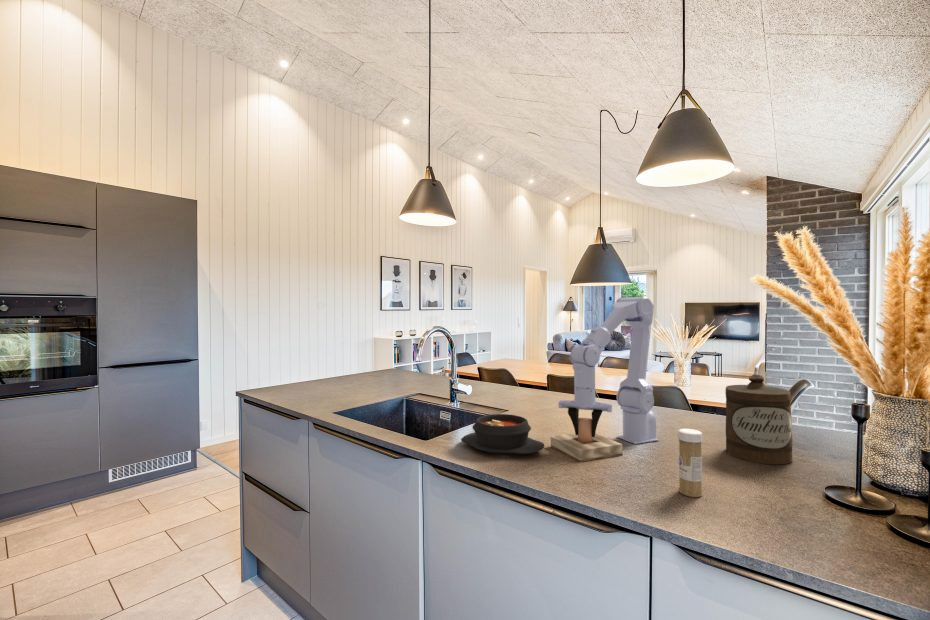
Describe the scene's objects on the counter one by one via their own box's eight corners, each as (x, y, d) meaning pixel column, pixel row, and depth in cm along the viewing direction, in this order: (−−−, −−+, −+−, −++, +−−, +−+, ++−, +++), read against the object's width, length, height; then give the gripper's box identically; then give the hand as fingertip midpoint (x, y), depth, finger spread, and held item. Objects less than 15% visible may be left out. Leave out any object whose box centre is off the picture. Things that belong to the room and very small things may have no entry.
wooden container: (736, 462, 109) (734, 377, 109) (719, 445, 123) (718, 370, 123) (803, 467, 104) (802, 379, 105) (778, 449, 118) (777, 372, 119)
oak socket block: (589, 441, 127) (589, 431, 127) (622, 455, 114) (622, 444, 114) (550, 446, 122) (550, 436, 122) (580, 461, 109) (580, 450, 109)
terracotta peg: (586, 441, 121) (586, 417, 121) (595, 445, 117) (595, 420, 117) (575, 442, 119) (574, 418, 119) (584, 446, 116) (583, 421, 116)
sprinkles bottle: (674, 489, 92) (673, 428, 92) (693, 488, 92) (693, 427, 92) (687, 498, 87) (686, 434, 87) (708, 497, 87) (707, 433, 88)
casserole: (554, 447, 122) (554, 418, 122) (527, 466, 106) (526, 433, 106) (481, 434, 136) (481, 408, 136) (448, 449, 120) (447, 420, 120)
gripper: (556, 387, 118) (556, 436, 118) (610, 391, 112) (611, 442, 112) (561, 384, 124) (561, 429, 124) (612, 387, 118) (613, 435, 118)
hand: (585, 435), depth 118 cm, fingers closed on terracotta peg, 4 cm apart
